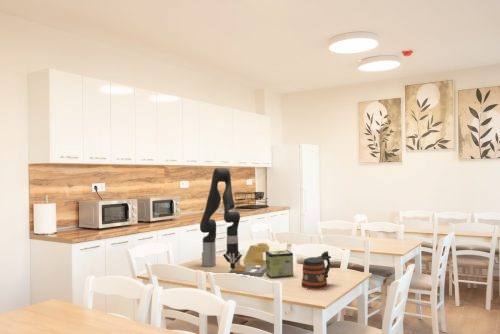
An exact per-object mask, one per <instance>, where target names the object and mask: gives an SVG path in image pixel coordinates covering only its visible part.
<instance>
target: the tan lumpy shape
mask: <svg viewBox="0 0 500 334" xmlns="http://www.w3.org/2000/svg"><path fill="white" fill-rule="evenodd" d="M268 251H270V245H268V243H266V242H265V243H264V242H263V243H262V242H261V243H257V244H253V245H252V244H251V245H250V246H249V248H248V250H247V252H246V255H245V256H244V259H243V265H254V266H256V265H260V266H266V259H264V253H266V252H268Z"/></svg>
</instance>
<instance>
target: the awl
mask: <svg viewBox="0 0 500 334" xmlns="http://www.w3.org/2000/svg"><path fill="white" fill-rule="evenodd" d="M239 253H240V254H241V252H240V251H239ZM237 258H238V255H237V257H236V260H237ZM236 265H241V258H240V259H239V261H238V262H236V263H235V266H236Z"/></svg>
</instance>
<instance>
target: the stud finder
mask: <svg viewBox="0 0 500 334" xmlns="http://www.w3.org/2000/svg"><path fill="white" fill-rule="evenodd" d="M245 270H246V268H245V264H240V265H236V266H235V271H245Z"/></svg>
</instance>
